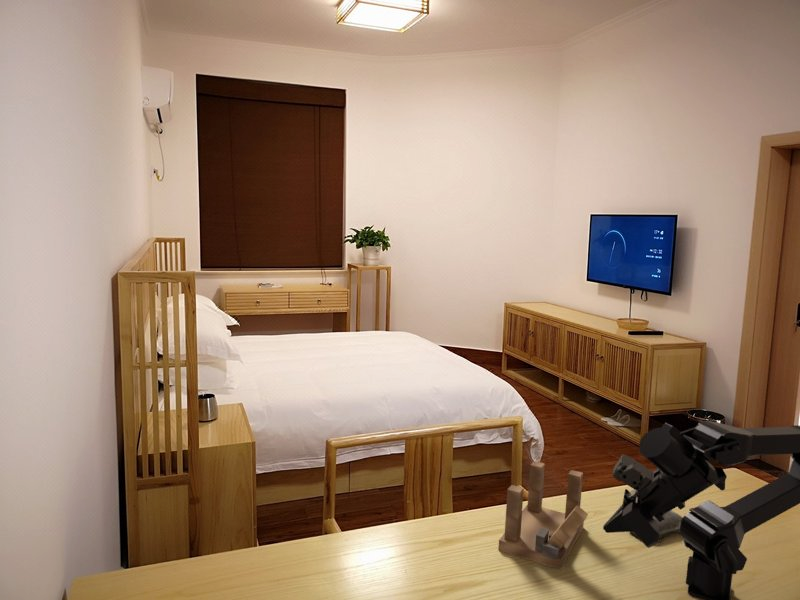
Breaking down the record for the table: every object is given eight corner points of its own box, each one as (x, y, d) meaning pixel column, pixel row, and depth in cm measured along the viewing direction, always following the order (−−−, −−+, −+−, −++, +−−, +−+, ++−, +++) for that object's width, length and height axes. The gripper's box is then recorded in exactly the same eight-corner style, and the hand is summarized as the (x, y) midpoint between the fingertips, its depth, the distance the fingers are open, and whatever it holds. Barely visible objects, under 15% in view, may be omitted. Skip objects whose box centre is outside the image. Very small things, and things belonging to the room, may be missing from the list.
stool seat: (583, 527, 124) (587, 472, 123) (559, 571, 108) (564, 508, 107) (527, 512, 130) (531, 459, 129) (497, 551, 114) (500, 491, 113)
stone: (637, 529, 119) (612, 507, 129) (638, 549, 119) (613, 525, 129) (699, 517, 121) (670, 496, 131) (700, 537, 121) (671, 515, 131)
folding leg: (558, 549, 112) (588, 513, 109) (553, 556, 110) (584, 520, 106) (547, 540, 113) (577, 504, 110) (543, 547, 111) (573, 510, 107)
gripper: (646, 429, 111) (581, 473, 117) (642, 465, 94) (566, 515, 100) (689, 477, 109) (620, 520, 115) (692, 523, 92) (612, 571, 98)
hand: (604, 529), depth 107 cm, fingers closed
